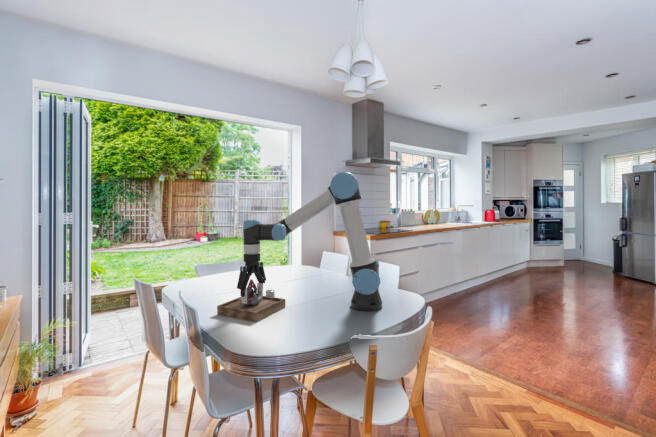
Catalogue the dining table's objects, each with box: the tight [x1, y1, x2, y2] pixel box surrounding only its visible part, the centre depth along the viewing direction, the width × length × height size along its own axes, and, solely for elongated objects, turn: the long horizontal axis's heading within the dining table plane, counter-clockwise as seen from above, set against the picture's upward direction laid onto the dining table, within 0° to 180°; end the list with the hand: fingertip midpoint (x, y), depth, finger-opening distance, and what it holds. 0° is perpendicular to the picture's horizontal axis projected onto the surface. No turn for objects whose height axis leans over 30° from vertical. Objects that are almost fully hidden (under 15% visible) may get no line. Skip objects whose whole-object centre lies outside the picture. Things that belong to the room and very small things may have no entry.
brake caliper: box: [236, 279, 262, 305], centre depth 151 cm, size 11×11×12 cm
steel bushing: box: [265, 289, 276, 298], centre depth 167 cm, size 4×4×5 cm
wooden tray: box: [216, 295, 286, 323], centre depth 151 cm, size 22×22×4 cm
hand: (252, 299), depth 150 cm, fingers closed on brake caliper, 11 cm apart
